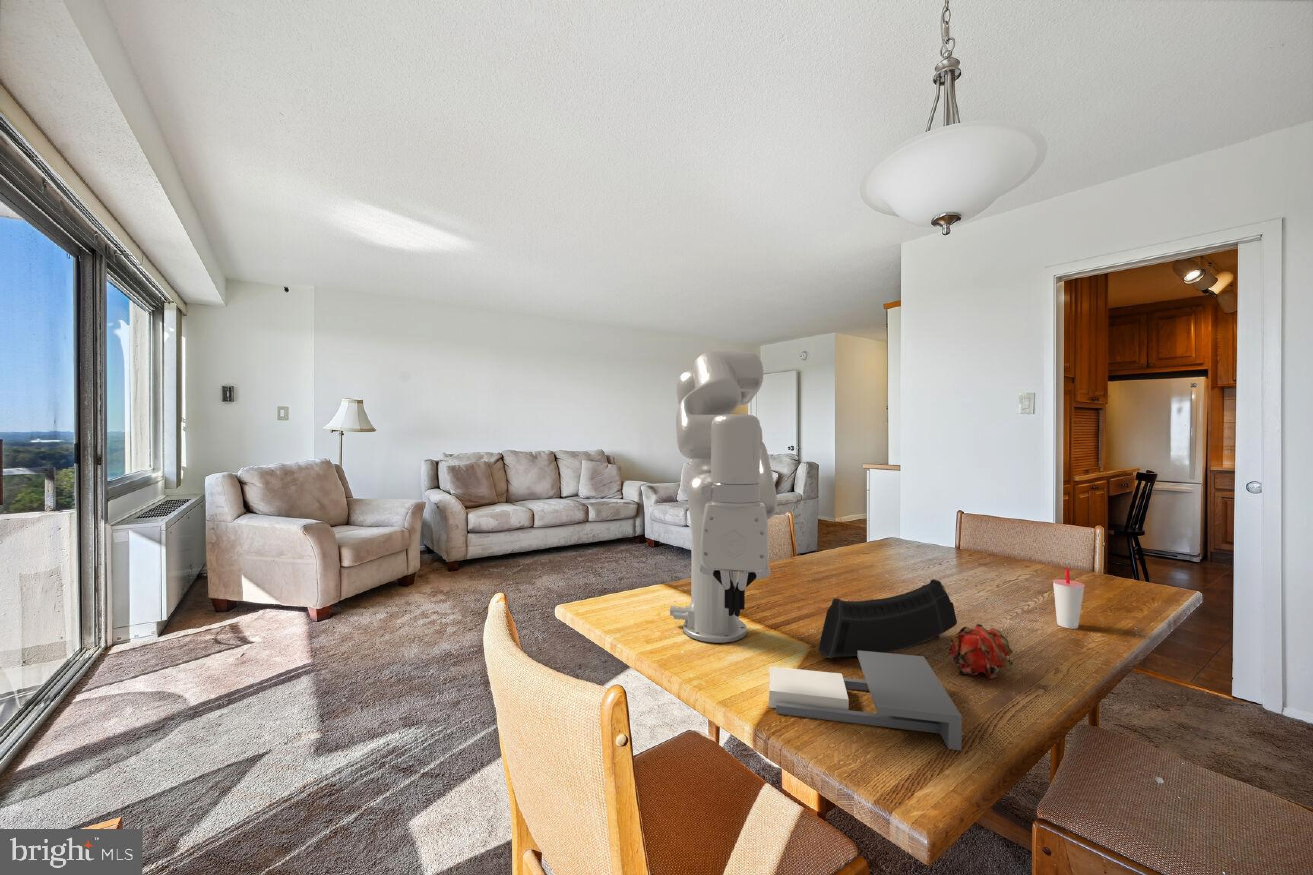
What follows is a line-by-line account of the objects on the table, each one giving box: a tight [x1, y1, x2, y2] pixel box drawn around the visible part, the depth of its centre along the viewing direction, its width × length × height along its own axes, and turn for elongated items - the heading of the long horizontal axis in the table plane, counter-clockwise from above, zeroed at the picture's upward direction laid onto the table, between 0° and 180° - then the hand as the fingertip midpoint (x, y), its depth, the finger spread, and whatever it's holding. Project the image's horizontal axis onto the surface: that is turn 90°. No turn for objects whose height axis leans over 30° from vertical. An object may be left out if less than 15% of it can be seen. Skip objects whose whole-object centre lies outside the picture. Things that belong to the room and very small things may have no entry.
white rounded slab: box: [768, 666, 850, 710], centre depth 81 cm, size 11×8×2 cm
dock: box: [775, 650, 963, 751], centre depth 79 cm, size 23×18×4 cm
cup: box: [1052, 568, 1086, 630], centre depth 110 cm, size 5×5×12 cm
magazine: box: [817, 578, 958, 659], centre depth 99 cm, size 18×3×31 cm
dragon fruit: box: [948, 623, 1014, 680], centre depth 89 cm, size 8×8×12 cm
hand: (734, 613), depth 82 cm, fingers closed
